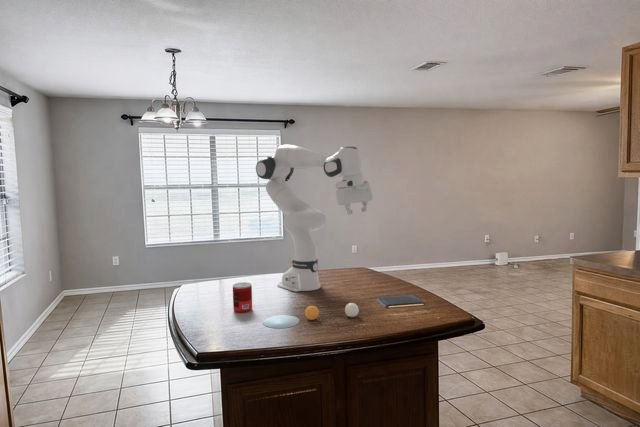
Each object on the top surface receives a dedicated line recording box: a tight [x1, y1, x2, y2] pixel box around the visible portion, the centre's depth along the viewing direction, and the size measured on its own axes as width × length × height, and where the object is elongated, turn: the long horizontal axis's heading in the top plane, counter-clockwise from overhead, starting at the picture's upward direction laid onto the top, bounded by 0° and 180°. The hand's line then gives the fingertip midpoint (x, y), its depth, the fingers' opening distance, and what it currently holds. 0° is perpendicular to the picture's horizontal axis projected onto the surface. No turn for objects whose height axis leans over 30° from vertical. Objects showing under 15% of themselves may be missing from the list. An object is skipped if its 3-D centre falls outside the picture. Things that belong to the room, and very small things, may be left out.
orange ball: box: [304, 305, 320, 321], centre depth 165 cm, size 6×6×6 cm
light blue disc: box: [262, 314, 300, 329], centre depth 163 cm, size 14×14×1 cm
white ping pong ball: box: [344, 302, 360, 318], centre depth 168 cm, size 6×6×6 cm
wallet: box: [375, 294, 429, 310], centre depth 186 cm, size 20×2×15 cm
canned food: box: [232, 281, 253, 314], centre depth 178 cm, size 8×8×11 cm
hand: (357, 212), depth 189 cm, fingers open, 8 cm apart
